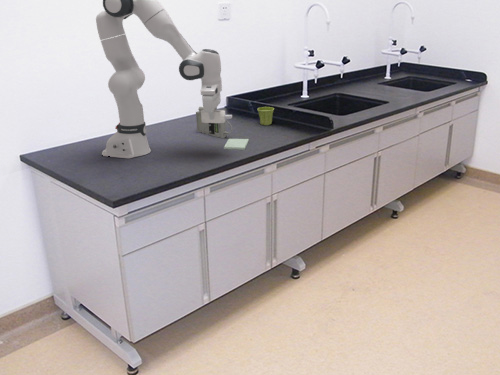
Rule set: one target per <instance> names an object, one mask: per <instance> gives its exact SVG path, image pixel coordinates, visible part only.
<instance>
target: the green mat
mask: <svg viewBox="0 0 500 375" xmlns="http://www.w3.org/2000/svg"><path fill="white" fill-rule="evenodd" d="M249 141H250V140H249V138H228V139H227V141H226V143H225V145H224V146H223V149H224V150H241V151H242V150H245V149H246V148H247V145H248V143H249Z"/></svg>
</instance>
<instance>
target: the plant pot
mask: <svg viewBox="0 0 500 375" xmlns="http://www.w3.org/2000/svg"><path fill="white" fill-rule="evenodd" d="M274 110H275V108H274V107H270V106H262V107H258V108H257V110H256V111H257V113H258V116H259V123H260V125H262V126H263V125H264V126H270V125H272V122H273V113H274Z"/></svg>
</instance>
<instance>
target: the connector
mask: <svg viewBox="0 0 500 375" xmlns="http://www.w3.org/2000/svg"><path fill="white" fill-rule="evenodd" d="M213 113H214V119H213V120H210V117H209V113H207V112H204V110H202V111H201V121H202V123H225V119H226V120H229V119H232V118H233V114H226V110H223V109H217V110H214V112H213Z"/></svg>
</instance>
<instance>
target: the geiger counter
mask: <svg viewBox="0 0 500 375" xmlns="http://www.w3.org/2000/svg"><path fill="white" fill-rule="evenodd" d="M202 110H204V109H203V106H199V107H198V111H195V118H196V119H195V120H196V132H197V131H198V132H197V133H201V132H202V133H201V134H204V133H205V135H208V134H209V136H213V137H216V138H221V139H224V138H227V135H230V134H232V133H233V130H231V131H230V132H228V131H227V123H228V124H229V126H230V127H231V129H233V125H232V124H231V122H229V121H228V120H227V119H225V123H202V121H201V111H202Z"/></svg>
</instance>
